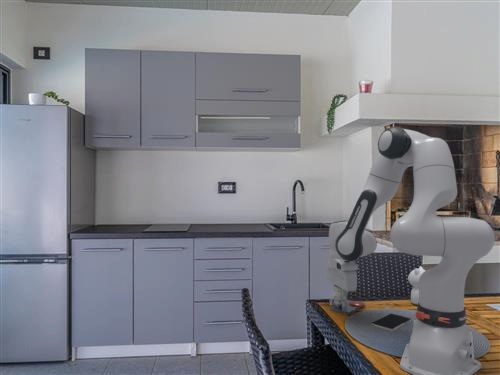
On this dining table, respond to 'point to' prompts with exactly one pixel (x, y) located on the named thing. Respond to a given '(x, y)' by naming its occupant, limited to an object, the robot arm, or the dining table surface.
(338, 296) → the cap
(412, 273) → the cat figurine
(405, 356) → the robot arm
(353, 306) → the bayonet base
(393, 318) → the smartphone
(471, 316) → the dining table surface
